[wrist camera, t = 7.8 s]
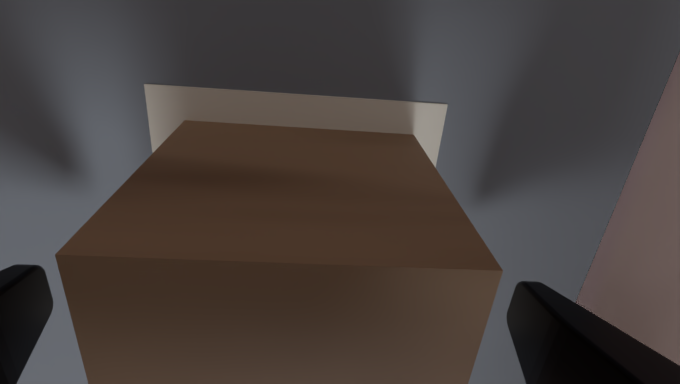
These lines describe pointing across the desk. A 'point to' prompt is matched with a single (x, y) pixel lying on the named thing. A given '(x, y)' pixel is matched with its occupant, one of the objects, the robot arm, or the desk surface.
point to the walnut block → (280, 264)
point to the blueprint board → (337, 116)
